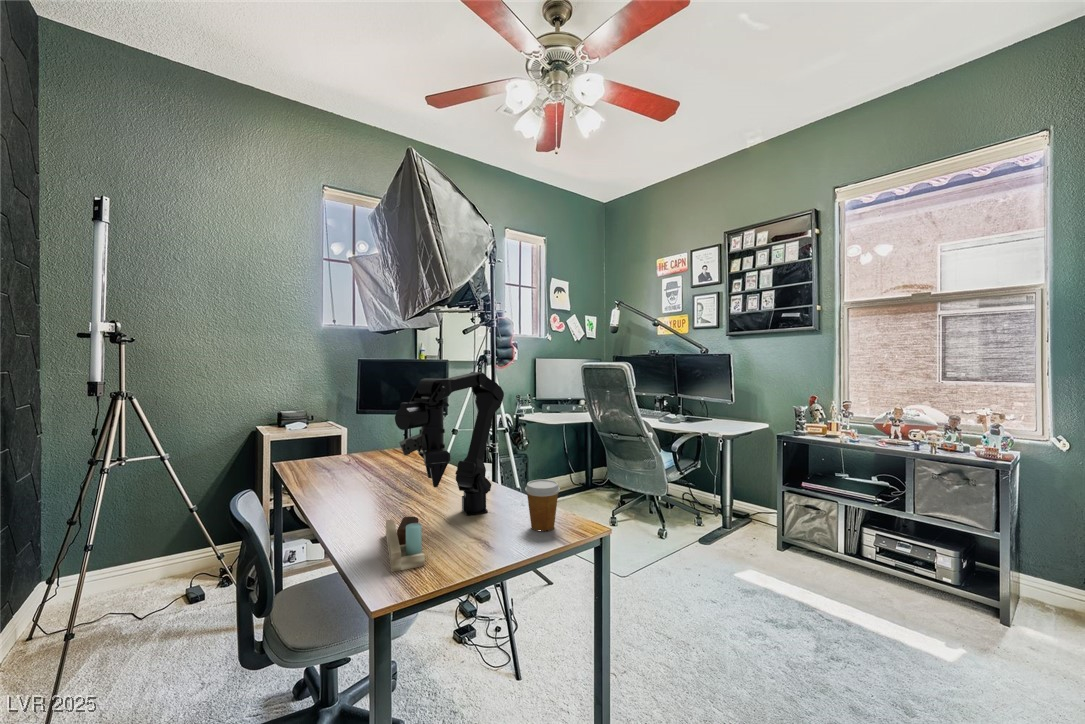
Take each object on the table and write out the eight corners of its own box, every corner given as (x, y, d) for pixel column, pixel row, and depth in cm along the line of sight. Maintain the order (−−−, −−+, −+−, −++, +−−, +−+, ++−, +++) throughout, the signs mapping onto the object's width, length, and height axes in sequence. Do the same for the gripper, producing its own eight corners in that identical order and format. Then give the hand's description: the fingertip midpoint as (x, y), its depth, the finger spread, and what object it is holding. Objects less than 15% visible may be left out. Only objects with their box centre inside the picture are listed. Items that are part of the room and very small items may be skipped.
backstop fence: (413, 531, 118) (413, 516, 118) (424, 565, 98) (424, 548, 98) (385, 535, 115) (385, 520, 115) (391, 571, 95) (391, 553, 95)
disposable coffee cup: (529, 520, 126) (529, 478, 126) (562, 522, 124) (562, 479, 124) (521, 533, 116) (521, 488, 116) (557, 535, 115) (557, 489, 114)
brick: (413, 547, 108) (413, 528, 108) (396, 548, 107) (396, 529, 107) (418, 531, 118) (418, 514, 118) (403, 532, 118) (403, 514, 118)
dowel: (405, 558, 102) (404, 524, 102) (420, 555, 103) (420, 522, 103) (406, 565, 98) (406, 529, 98) (422, 562, 100) (422, 527, 100)
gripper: (398, 422, 124) (398, 477, 124) (404, 432, 107) (405, 496, 107) (438, 419, 128) (438, 473, 128) (450, 429, 111) (450, 490, 111)
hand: (432, 482), depth 118 cm, fingers open, 9 cm apart
